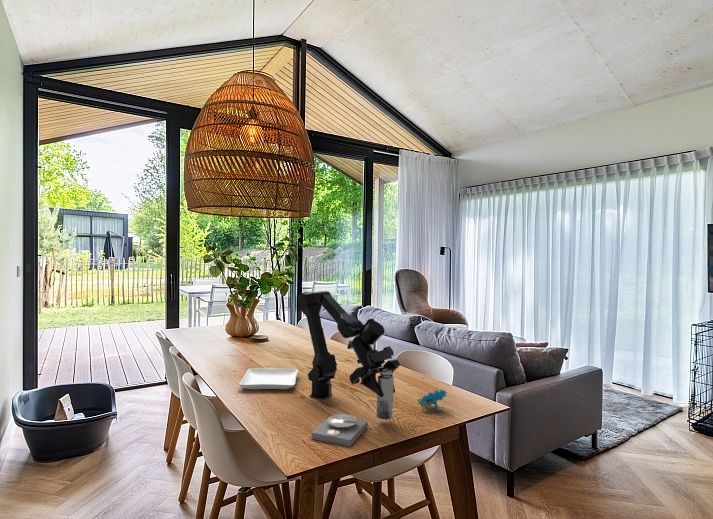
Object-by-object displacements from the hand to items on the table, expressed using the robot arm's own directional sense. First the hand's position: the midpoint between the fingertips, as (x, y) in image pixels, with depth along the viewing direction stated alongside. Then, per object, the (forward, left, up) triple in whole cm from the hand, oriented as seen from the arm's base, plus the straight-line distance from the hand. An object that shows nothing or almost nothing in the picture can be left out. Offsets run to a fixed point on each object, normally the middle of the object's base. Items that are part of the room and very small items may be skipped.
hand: (388, 394), depth 136 cm
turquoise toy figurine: (+10, +19, -10) cm, 24 cm away
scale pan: (-11, -10, -7) cm, 17 cm away
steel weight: (-1, +1, -7) cm, 7 cm away
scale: (-11, -12, -9) cm, 19 cm away
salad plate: (-55, +20, -10) cm, 59 cm away
